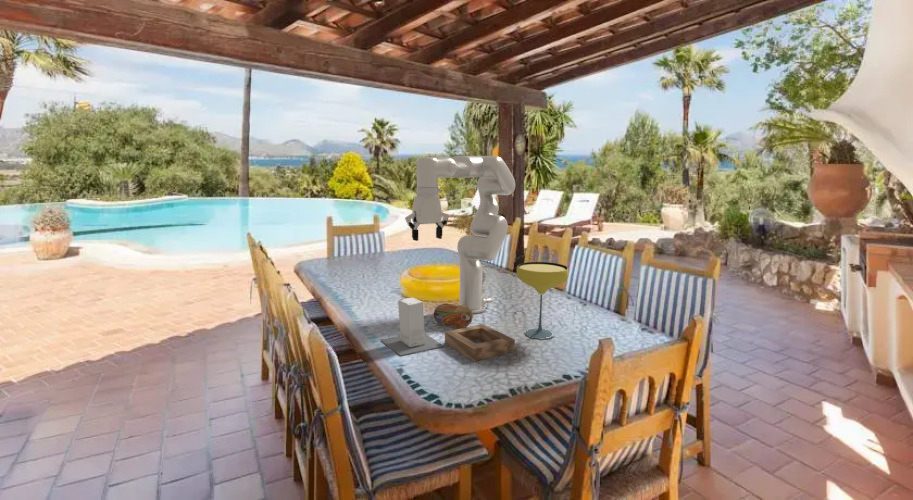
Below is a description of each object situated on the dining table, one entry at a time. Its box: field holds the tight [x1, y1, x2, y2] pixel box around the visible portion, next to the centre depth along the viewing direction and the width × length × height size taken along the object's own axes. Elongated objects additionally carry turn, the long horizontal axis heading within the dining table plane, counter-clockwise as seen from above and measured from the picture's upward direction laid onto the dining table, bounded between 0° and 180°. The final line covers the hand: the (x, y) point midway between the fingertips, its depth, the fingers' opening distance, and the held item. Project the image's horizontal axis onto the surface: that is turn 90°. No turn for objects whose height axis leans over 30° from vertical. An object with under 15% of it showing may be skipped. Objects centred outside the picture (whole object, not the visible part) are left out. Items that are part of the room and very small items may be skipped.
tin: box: [433, 303, 474, 329], centre depth 180 cm, size 15×3×8 cm, turn 70°
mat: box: [380, 332, 445, 357], centre depth 161 cm, size 16×16×1 cm
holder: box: [444, 323, 516, 362], centre depth 159 cm, size 16×18×4 cm
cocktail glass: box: [516, 261, 569, 339], centre depth 170 cm, size 18×18×25 cm
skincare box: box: [397, 297, 426, 347], centre depth 160 cm, size 8×6×15 cm
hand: (427, 239), depth 173 cm, fingers open, 9 cm apart
